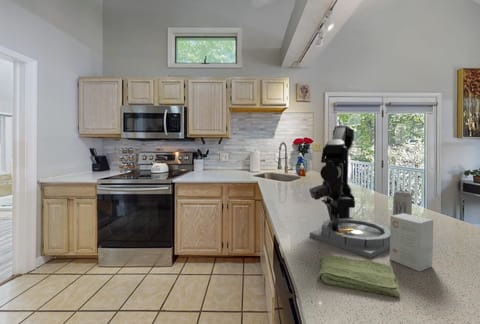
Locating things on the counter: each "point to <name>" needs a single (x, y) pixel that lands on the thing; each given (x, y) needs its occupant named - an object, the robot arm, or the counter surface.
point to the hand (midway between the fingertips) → (332, 220)
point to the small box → (411, 241)
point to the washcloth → (358, 275)
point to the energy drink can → (402, 203)
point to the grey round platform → (355, 238)
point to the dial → (353, 228)
